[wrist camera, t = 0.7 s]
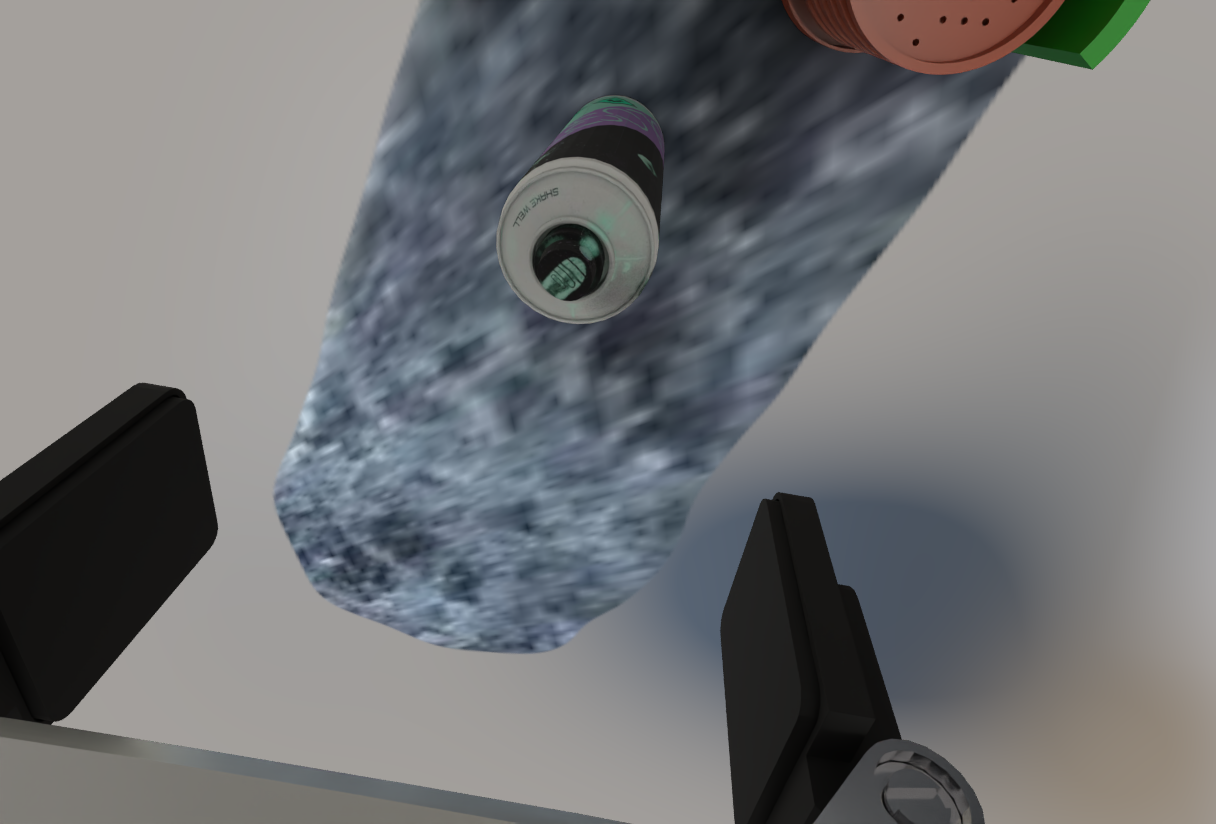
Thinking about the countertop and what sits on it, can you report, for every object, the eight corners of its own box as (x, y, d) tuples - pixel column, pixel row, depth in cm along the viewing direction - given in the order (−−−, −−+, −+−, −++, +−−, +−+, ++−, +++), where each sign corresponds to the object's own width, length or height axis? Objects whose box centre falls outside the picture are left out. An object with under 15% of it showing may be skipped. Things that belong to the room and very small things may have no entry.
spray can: (677, 109, 36) (679, 210, 19) (649, 210, 39) (630, 375, 22) (576, 82, 36) (488, 160, 19) (556, 185, 39) (464, 333, 22)
